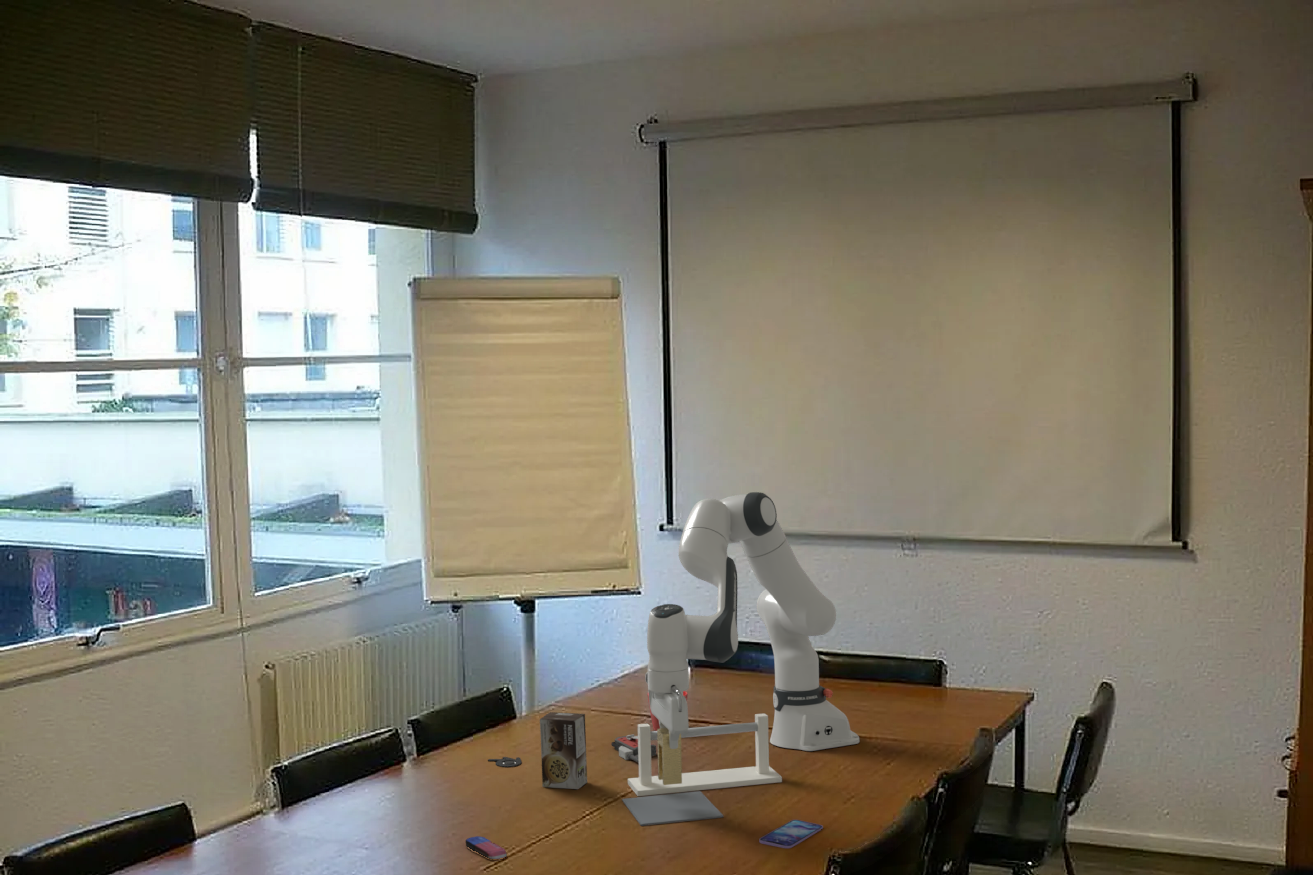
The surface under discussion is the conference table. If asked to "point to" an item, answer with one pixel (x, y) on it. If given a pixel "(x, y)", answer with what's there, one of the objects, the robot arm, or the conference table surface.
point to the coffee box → (563, 750)
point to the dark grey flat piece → (507, 762)
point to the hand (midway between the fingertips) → (669, 744)
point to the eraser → (485, 847)
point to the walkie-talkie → (630, 747)
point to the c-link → (668, 759)
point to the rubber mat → (671, 808)
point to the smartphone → (790, 834)
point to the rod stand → (706, 779)
